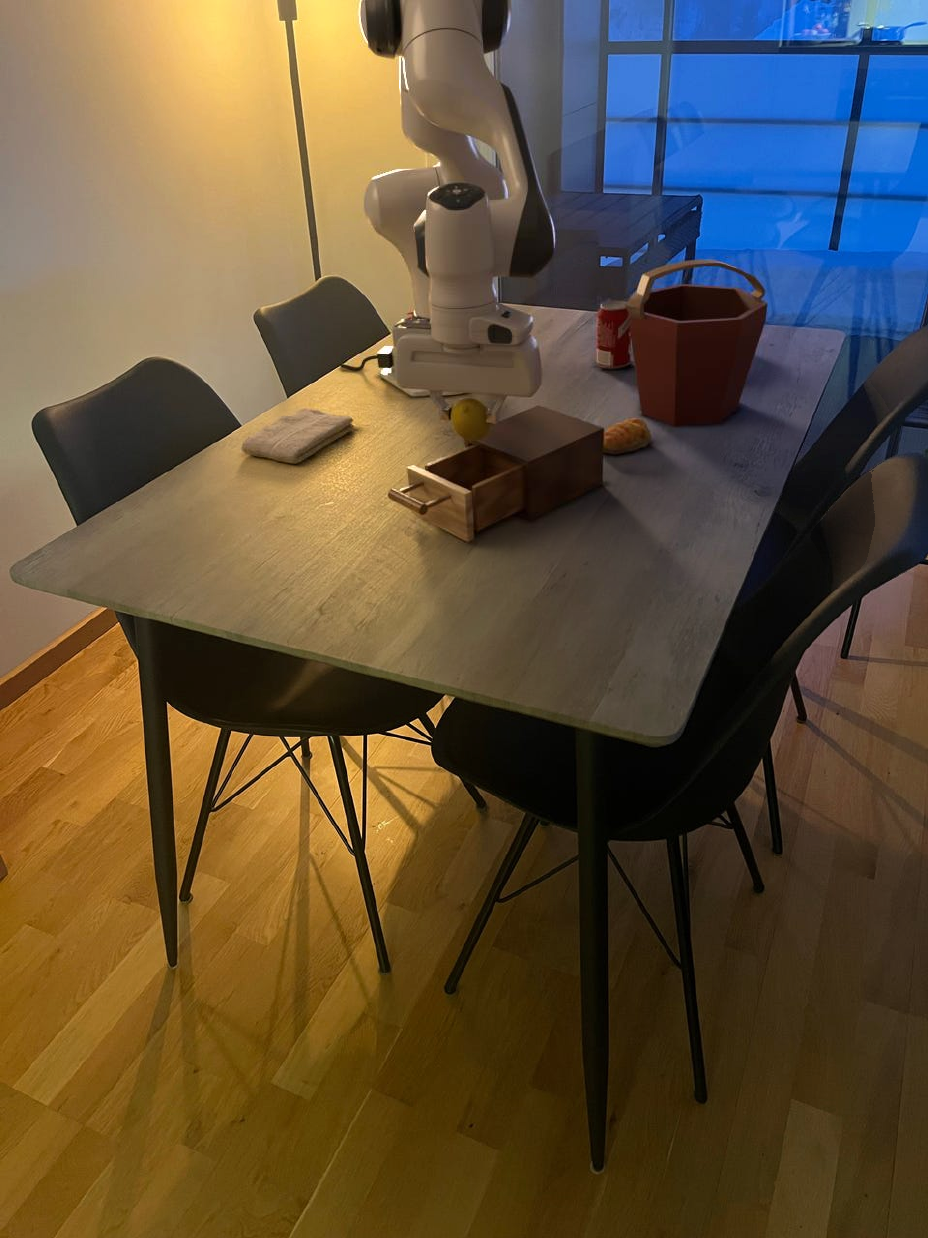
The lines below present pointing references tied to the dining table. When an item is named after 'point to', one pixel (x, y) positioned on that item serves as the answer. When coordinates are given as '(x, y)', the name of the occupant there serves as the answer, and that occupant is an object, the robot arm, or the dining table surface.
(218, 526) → the dining table surface
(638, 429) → the pastry
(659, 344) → the bucket
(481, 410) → the lemon
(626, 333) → the soda can
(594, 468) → the cabinet
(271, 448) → the washcloth
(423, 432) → the dining table surface
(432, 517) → the drawer
